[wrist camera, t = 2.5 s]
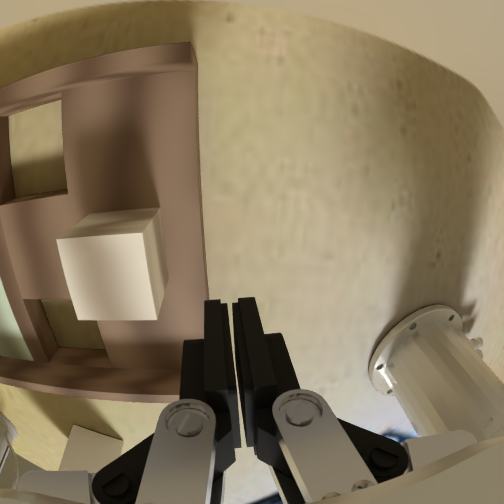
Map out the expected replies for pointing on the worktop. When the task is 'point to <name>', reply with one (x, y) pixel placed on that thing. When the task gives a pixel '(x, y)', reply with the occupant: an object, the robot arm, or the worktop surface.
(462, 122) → the worktop surface
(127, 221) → the block
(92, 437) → the milk carton
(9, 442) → the white and black mug
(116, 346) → the box
